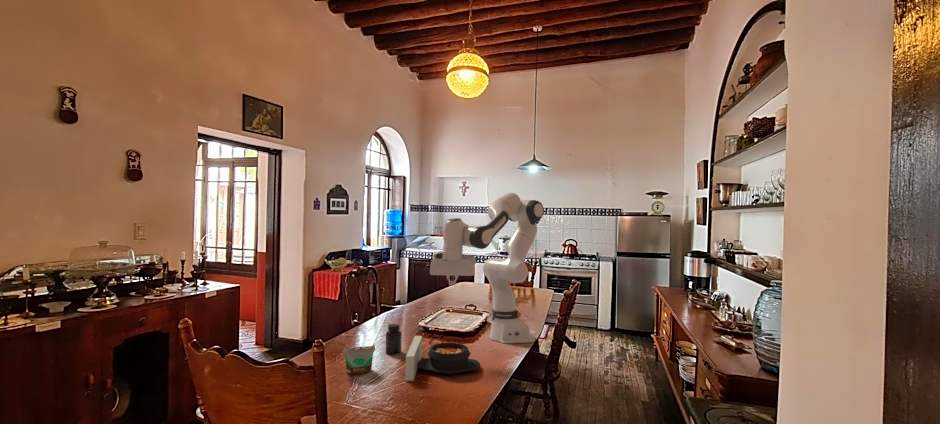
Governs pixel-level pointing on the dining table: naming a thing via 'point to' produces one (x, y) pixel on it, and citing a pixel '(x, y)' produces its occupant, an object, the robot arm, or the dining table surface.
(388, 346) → the supplement bottle
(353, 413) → the dining table surface
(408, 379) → the board
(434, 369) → the casserole
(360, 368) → the food container
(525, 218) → the robot arm
